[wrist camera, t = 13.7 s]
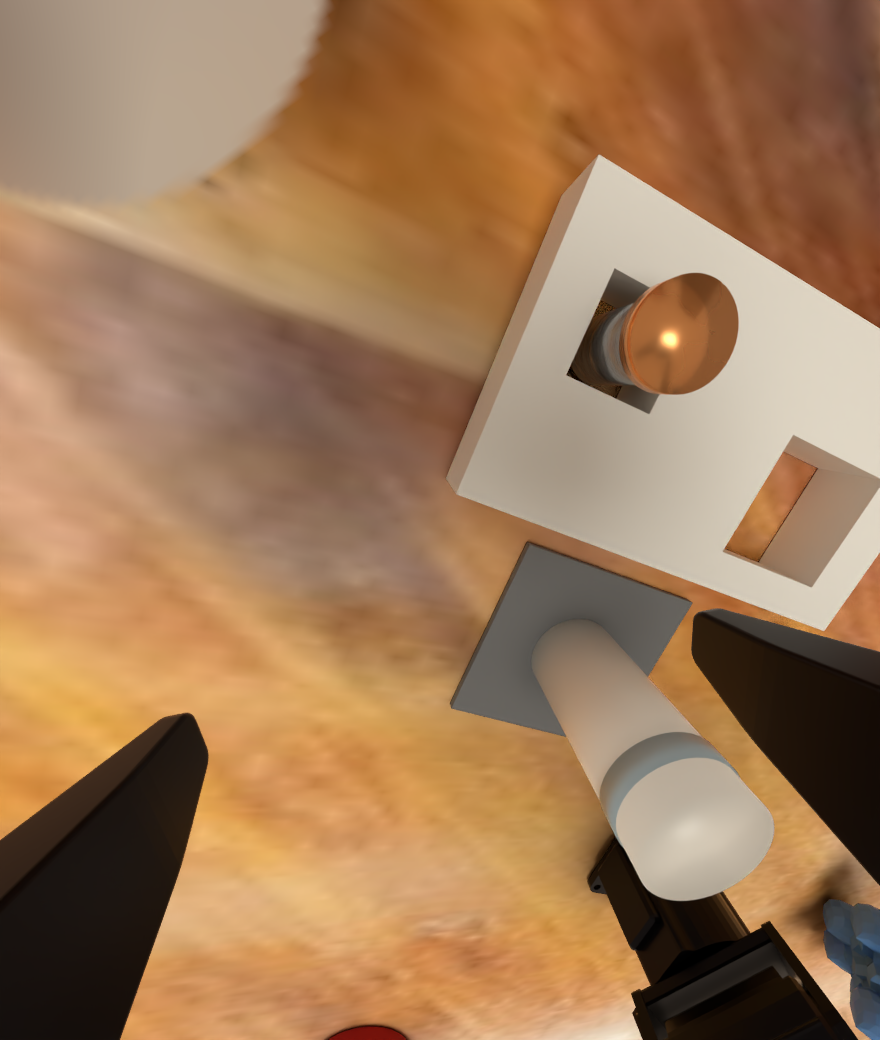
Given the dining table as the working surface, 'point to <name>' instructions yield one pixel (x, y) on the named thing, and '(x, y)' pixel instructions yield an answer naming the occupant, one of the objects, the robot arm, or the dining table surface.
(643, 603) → the mat
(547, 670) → the cylinder
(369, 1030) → the canned food
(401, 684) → the dining table surface
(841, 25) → the dining table surface
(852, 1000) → the blue flower shape
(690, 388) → the copper capped cylinder
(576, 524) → the housing
